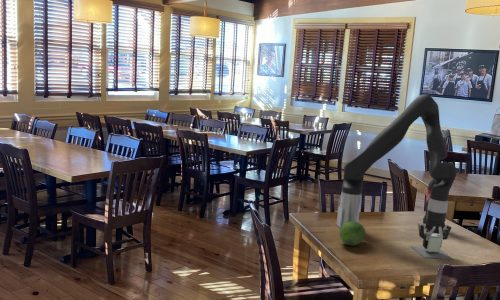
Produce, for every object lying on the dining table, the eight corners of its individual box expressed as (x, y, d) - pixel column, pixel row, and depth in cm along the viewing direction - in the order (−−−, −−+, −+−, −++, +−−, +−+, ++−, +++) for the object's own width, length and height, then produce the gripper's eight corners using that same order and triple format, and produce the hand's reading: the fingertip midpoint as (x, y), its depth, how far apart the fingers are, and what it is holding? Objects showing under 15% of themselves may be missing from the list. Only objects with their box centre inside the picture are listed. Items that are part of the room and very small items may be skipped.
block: (428, 251, 201) (430, 237, 200) (423, 247, 206) (424, 233, 205) (439, 251, 201) (441, 238, 200) (433, 247, 206) (435, 234, 205)
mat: (424, 258, 197) (424, 257, 197) (411, 247, 209) (411, 246, 209) (451, 258, 199) (451, 257, 199) (437, 248, 210) (437, 247, 210)
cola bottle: (419, 224, 244) (427, 166, 239) (435, 225, 245) (443, 167, 240) (426, 229, 236) (435, 170, 231) (443, 230, 236) (452, 171, 232)
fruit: (350, 236, 216) (352, 215, 215) (370, 243, 210) (373, 221, 209) (333, 244, 205) (335, 221, 203) (354, 251, 199) (357, 228, 197)
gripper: (425, 211, 196) (419, 251, 199) (458, 213, 198) (452, 252, 201) (416, 206, 203) (411, 244, 206) (448, 207, 205) (442, 245, 208)
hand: (431, 248), depth 203 cm, fingers closed on block, 5 cm apart
